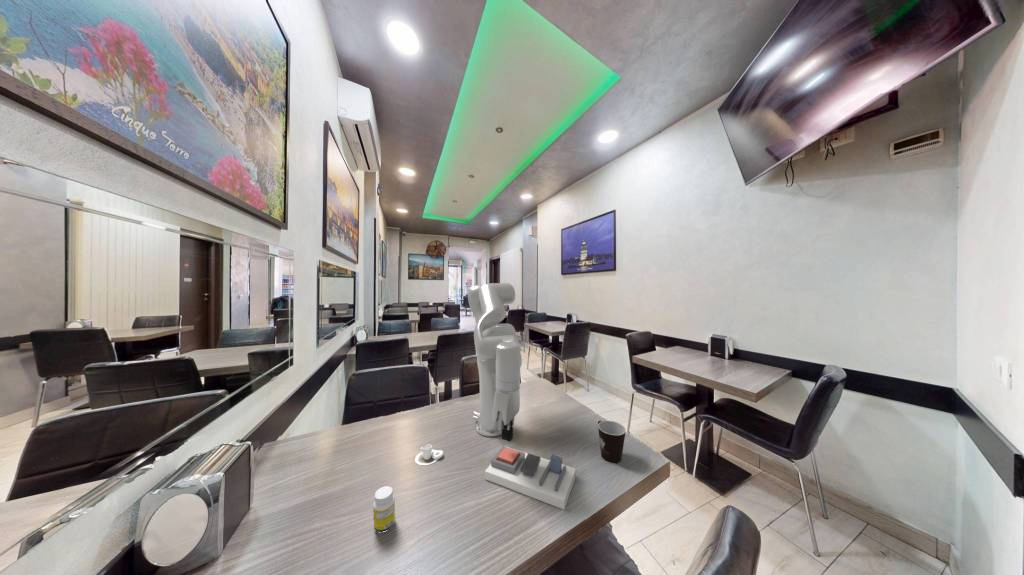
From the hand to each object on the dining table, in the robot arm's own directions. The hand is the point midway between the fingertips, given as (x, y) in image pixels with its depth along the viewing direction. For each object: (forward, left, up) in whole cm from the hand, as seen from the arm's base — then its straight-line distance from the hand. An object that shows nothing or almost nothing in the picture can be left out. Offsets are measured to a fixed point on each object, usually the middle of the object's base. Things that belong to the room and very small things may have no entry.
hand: (507, 438), depth 87 cm
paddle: (+15, +2, -7) cm, 17 cm away
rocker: (+8, -1, -5) cm, 10 cm away
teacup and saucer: (-24, -9, -10) cm, 27 cm away
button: (+1, -1, -6) cm, 6 cm away
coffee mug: (+28, +21, -10) cm, 37 cm away
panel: (+8, -1, -9) cm, 13 cm away
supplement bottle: (-18, -31, -10) cm, 37 cm away
